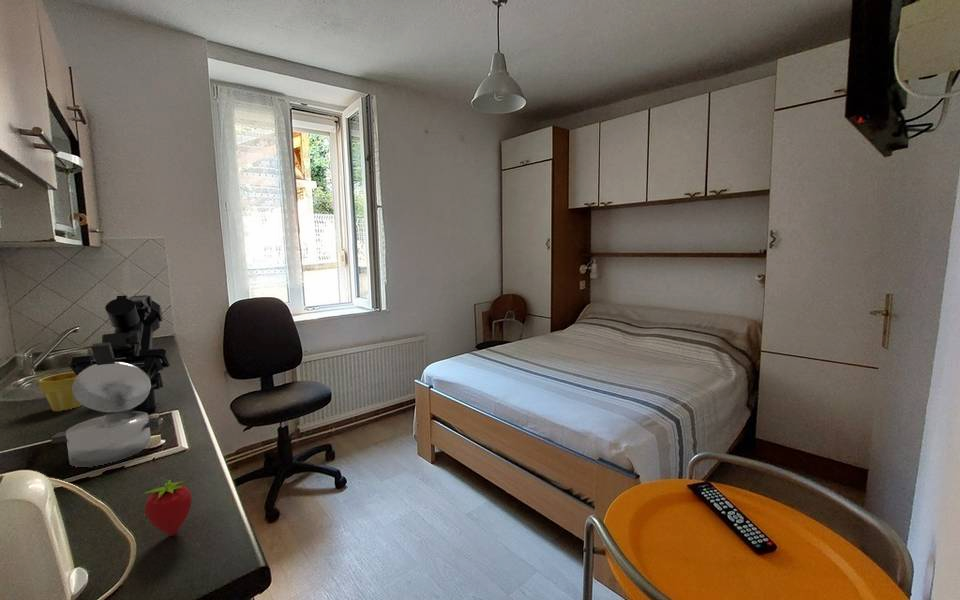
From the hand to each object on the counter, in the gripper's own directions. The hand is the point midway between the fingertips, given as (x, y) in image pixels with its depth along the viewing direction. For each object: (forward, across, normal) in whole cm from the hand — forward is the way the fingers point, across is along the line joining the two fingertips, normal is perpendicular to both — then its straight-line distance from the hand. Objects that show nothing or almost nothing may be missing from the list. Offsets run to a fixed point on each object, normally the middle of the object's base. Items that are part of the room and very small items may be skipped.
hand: (117, 391), depth 99 cm
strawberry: (+44, +19, -26) cm, 54 cm away
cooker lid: (0, 0, -5) cm, 5 cm away
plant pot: (-18, -23, +36) cm, 46 cm away
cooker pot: (+14, 0, +4) cm, 14 cm away
